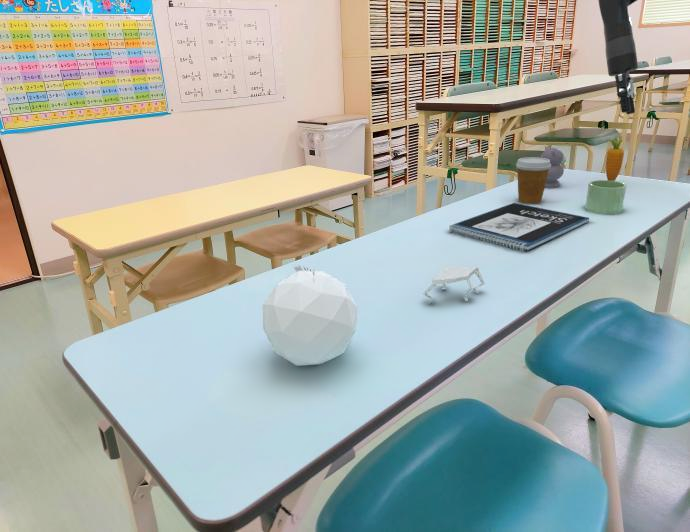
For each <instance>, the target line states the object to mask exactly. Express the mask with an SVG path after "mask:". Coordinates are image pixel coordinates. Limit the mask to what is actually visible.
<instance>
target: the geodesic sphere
mask: <svg viewBox="0 0 690 532" xmlns="http://www.w3.org/2000/svg"><path fill="white" fill-rule="evenodd" d="M302 266H303V268H302V267H301V265H295V266H293V269H294V271H296V272H293V273H292V274H291V275H289V276H288V277H286V278H284V279H283V280H281V281H279V282H278V283H276V285H275V286H274V288H272V290H271V292H270V293H269V294H268V296H267V298H266V299H265V301H263V303H262V329H263V331H264V333H265V335H266V337H267V339H268V342H269V343H270V346H271V348H272V351H273V352H274V353H276V354H277V355H278V356H280V357H282V358H284V359H285V360H286V361H288V362H290V363H292V364H293V365H294V366H299V367H300V366H317V365H323V364H325V363H327V362H328V361H331V360H333V359H335V358H337V357H338V356H341V355H343V354H344V352H345V351H346V350H347V347H348V346H349V344H350V342H351V340H352V338H353V337H354V335H355V333H356V331H357V321H358V305H357V304H356V302H355V300H354V298H353V296H352V294H351V292H350V291H349V289H348V287H347V285H346V283H344V282H342V281H340V280H339V279H337V278H335V277H334V276H331V275H330V274H328V273H326V272H325V271H321V270H319V271H318V270H312V269H311V268H308V267H305V266H304V265H302Z"/></svg>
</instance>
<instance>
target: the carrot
mask: <svg viewBox="0 0 690 532" xmlns="http://www.w3.org/2000/svg"><path fill="white" fill-rule="evenodd" d="M609 142H610V143H611V145H612V148H609V149H607V152H606V159H605V161H606V162H605V175H606V180H610V181H616V180H617V178H618V176H619V174H620V171H621V168H622V165H623V160H624V154H625V152H624V151H625V150H624V149H622V148H620V146H621V144H622V142H623V136H621V135H620V136H619V137H618V140H617V142H616V140H615V138H610V139H609Z"/></svg>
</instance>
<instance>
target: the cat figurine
mask: <svg viewBox="0 0 690 532" xmlns="http://www.w3.org/2000/svg"><path fill="white" fill-rule="evenodd" d="M540 158H546V159H549V160H550V164H551V167H550V169H549V171H548V175H547V179H546V183H545V188H549V189H554V188H558V187H560V180H559V179H561V178H562V177H563V175H564V172H565V170H564V166H563V165H562V163H563V161H564V153H563V151H562V150H561V149H559V148H557V147H548V146H546V145H545V146H544V150H543V152H542V153H541V156H540Z"/></svg>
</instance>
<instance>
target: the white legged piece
mask: <svg viewBox="0 0 690 532" xmlns="http://www.w3.org/2000/svg"><path fill="white" fill-rule="evenodd" d="M473 275H476V277H477V278H478V279H479V281H480V284H479V285H476V286H473V284H472V282H471V280H470V278H472V276H473ZM462 281H466V283H467V285H468V287H469V288H468V290H467V291H466V292H465V294H464V296H463V299H464V301H465V302H468V301H469V298H468V297H467V295H468V294H469V293H470V292H471V291H472V290H473V291H474V292H475V293H476V294H479V293H480V292H479V291H478V290H477V289H478V288H480V287H481V286H484V285H485V284H486V282H485V280H484V278H483V276H482V273H481V272H480V269H479V266H467V267H466V266H464V267H460V266H459V267H457V266H448V265H446V266H445V268H444V269H443V270H442V271H441V272H440V273H439V274H438V275H437V276H436V278H433V279H432V282H431V284H430V285H429V287H428V288H427V289H426V290H424V291H423V293H422V295H423V296H425V297H426V298H428V299H429V300H431V301H429V302H428V304H432V303H434V302H436V299H435V298H434V297H432V295H429V294H428V293H429V292H430V291H431V290H432V289H434V288H435V287H436V286H437V285H440V284H441V285H442V288H441V290H442V291H444V290H446V289H447V285H446V284H452V283H457V282H462Z"/></svg>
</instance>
